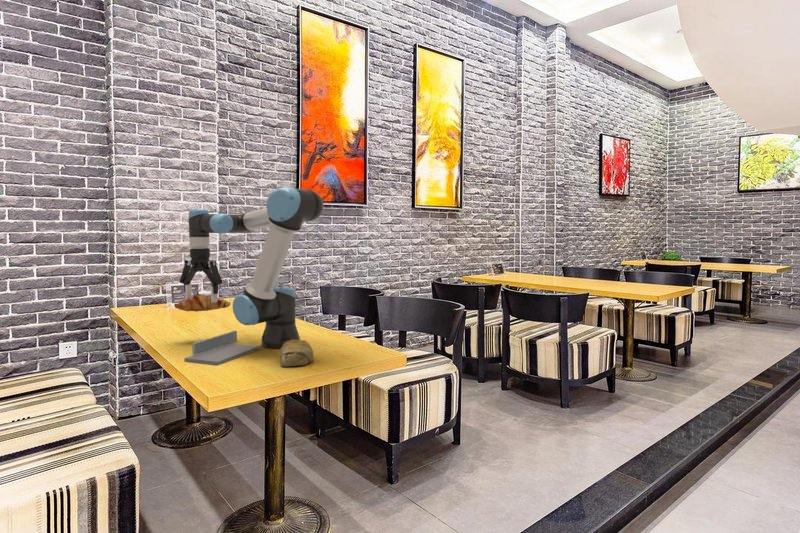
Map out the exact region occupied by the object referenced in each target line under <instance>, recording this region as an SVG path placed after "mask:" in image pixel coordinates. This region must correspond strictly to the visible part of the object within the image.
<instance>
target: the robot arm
mask: <svg viewBox="0 0 800 533" xmlns="http://www.w3.org/2000/svg"><path fill="white" fill-rule="evenodd" d="M323 211H324V201H323V199H322V197H321V195H320V194H319V193H318V192H316V191H314V190H313V189H308V188H307V189H303V188H295V187H291V186H289V187H287V186H286V187H278V188H276V189H274V190H272V191H271V193H270V194H269V196H268V197H267V200H266V204H265V207H264V208H260V209H257V210H251V211H249V212H246V213H240V214H232V213H231V214H229V213H218V212H217V213H210V212H209V210H208V209H205V208H202V209H201V208H195V209H192V208H191V209H190V210H189V211H188V218H187V220H188V235H189V236H188V238H189V239H188V241H189V248H190V249H189V257H190V259H185V260H184V261H183V265H184V266H183V269H182V273H181V276H180V279H179V283H180V284H183V290H184V293H185V301H186V300H187V299H188V298H193V292H192V291H193V287H192V283H191V282H192V280H194V277H195V275H196V274H197V272H203V273H204V274H205V276H206V278H208V280H209V282H210V284H211V285H210V296H211V302H217V298H218V294H219V285H222V284H223V280H222V277H221V275H220V272H219V269H218V266H217V260H210V257H211V249H210V234H234V233H235V234H249V233H252V232H255V231H257V230H260V229H265V228H269V230H268V233H267V236H266V238H265V241H264V244H263V247H262V249H261V253H260V256H259V258H258V262H257V264H256V267H255V271H254V272H253V276H252V280H251V282H249V283H247V284H245V286H244V290H243V292H242V294H241V293H240V294H238V295H236V297H235V298H234V299H233V301H232V312H233V314H234V317H235V319H236V320H237V321H238V322H239V324H241V325H243V326H255V325H258V324H262V323H265V327H264V330H263V333H262V336H261V339H260V340H261V342H260V343H261V344H260V345H261V346H262V347H264V348H270V349H281V348H282V346H283V344H284V343H285V342H286V341H288V340H292V339H296V340H301V337H300V333H299V330H298V328H297V325H296V299H297V298H296V291H295V289H294V288H292V287H284V286H283V287H282V286H276V285H277V283H278V279H279V276H280V273H281V271H282V268H283V265H284V263H285V261H286V257H287V255H288V252H289V249H290V246H291V243H292V241H293V237H294V234H295V233H298V232H299V231H301V228H302V225H303V223H305V222H313V221H315V220H317V219H319V218H320V216H322V214H323Z"/></svg>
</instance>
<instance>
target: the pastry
mask: <svg viewBox="0 0 800 533" xmlns="http://www.w3.org/2000/svg"><path fill="white" fill-rule="evenodd" d="M279 360H280V367H281V368H288V367H296V366H297V367H299V366H300V367H301V366H305V365H306V366H307V365H309V364H310V363H312V362H313V361H314V351H313V348H312V346H311V345H310V343H308V342H307V341H306V340H301V339H300V340H296V339H292V340H288V341H286V342H285V343H284V344H283V346H282V348H279Z"/></svg>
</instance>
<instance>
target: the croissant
mask: <svg viewBox="0 0 800 533" xmlns="http://www.w3.org/2000/svg"><path fill="white" fill-rule="evenodd" d="M173 306H174V308H175V309H178V310H180V311H183V312H208V311H214V310H220V309H226V308H228V307H230V306H231V302H230V301H227V300H225V299H224V298H222V299H220V298H219V297H217V302H211V295H210V296H209V295H208V296H207V295H206V294H203V293H196V294H194V295H193V296H192V298H188V299H187V300H186V299H185V301H184V300H183V301H179V302H178V303H174V304H173Z"/></svg>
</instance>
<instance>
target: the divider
mask: <svg viewBox="0 0 800 533" xmlns="http://www.w3.org/2000/svg"><path fill="white" fill-rule="evenodd" d="M236 341H238V332H237V330H232V331H229V332H226V333H222V334H219V335H215V336H212V337H209V338H206V339H202V340H198V341H195V342H193V343H192V344H191V345H192V346H191V348H192V355H195V354H198V353H201V352H204V351H207V350H210V349H213V348H216V347H219V346H222V345H225V344H228V343H234V342H236Z"/></svg>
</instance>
